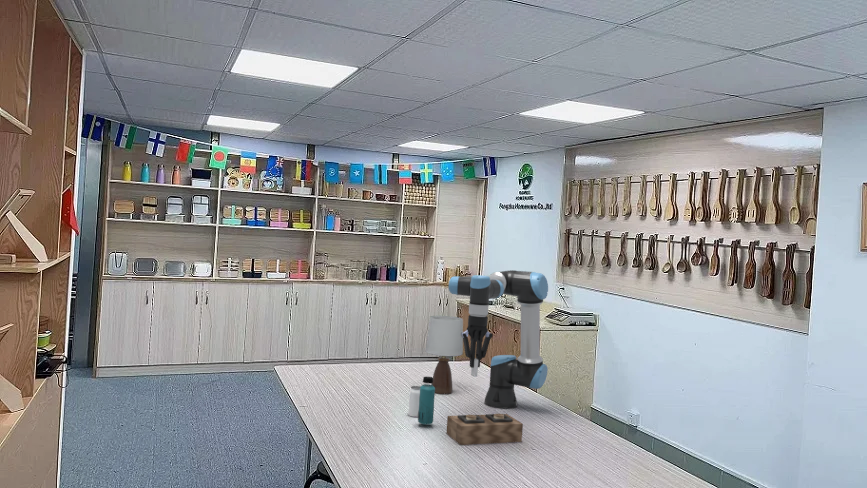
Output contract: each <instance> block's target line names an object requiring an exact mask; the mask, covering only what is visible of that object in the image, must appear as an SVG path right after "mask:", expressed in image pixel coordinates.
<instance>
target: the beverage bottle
mask: <svg viewBox="0 0 867 488" xmlns="http://www.w3.org/2000/svg"><path fill="white" fill-rule="evenodd" d="M422 378H423V379H422V383H425V384H422V385H421V386H420V397H419V411H418V417H417V423H419V424H420V425H421V424H422V425H432V424H433V423H434V417H435V416H434V415H435V414H434V413H435V412H434V411H435V396H436V395H435V394H436V393H435V388H434V386H433V385H431V383H433V376H423V377H422Z"/></svg>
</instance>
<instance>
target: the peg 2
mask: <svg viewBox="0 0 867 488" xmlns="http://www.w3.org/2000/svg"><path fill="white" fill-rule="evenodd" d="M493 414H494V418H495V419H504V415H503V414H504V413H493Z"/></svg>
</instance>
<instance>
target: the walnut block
mask: <svg viewBox="0 0 867 488" xmlns="http://www.w3.org/2000/svg"><path fill="white" fill-rule="evenodd" d="M494 414H495V413H487V414H474V415H475V416H476V420H467V419H466V415H467V414H458V415H447V417H446V419H447V421H446V433H445V434H446V435H447V436H448V437H450V438H451V439H453V440H454V441H455V443H457V444H458V445H459V446H465V445H467V446H470V445H486V444H505V443H506V444H507V443H522V442H523V429H524V424H523V423H522V422H521V421H519V420H517V419H515V418H514V417H512V416H511V415H510V414H507V413H502V414H503V415H504V419H495V418H494Z"/></svg>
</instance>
